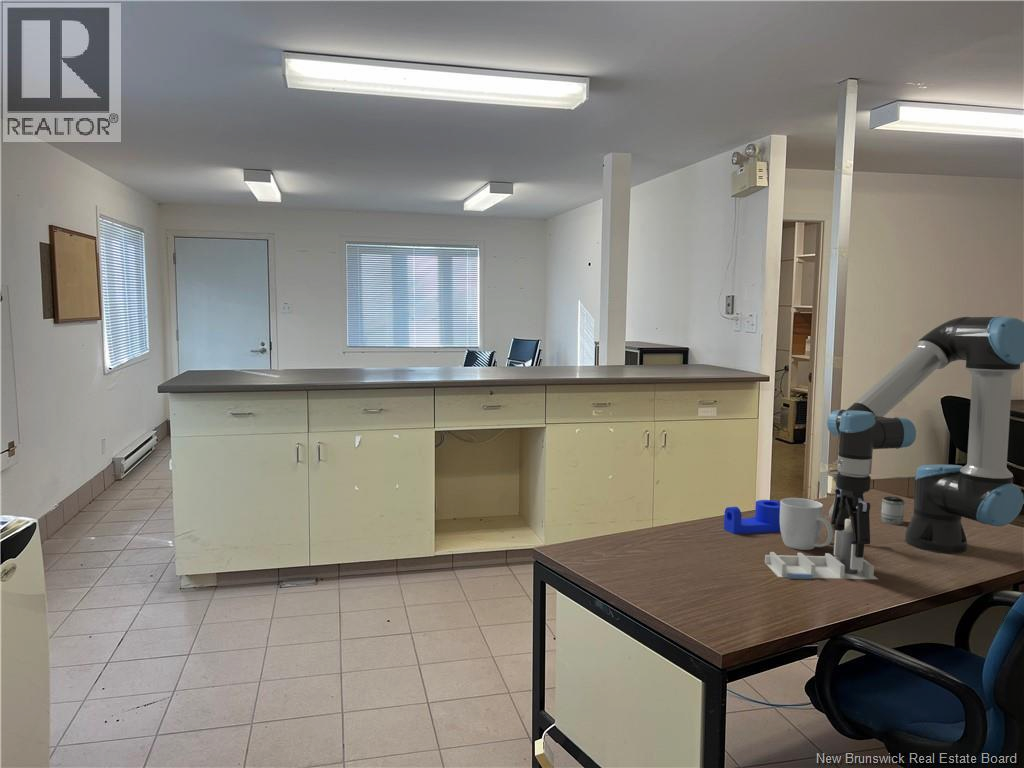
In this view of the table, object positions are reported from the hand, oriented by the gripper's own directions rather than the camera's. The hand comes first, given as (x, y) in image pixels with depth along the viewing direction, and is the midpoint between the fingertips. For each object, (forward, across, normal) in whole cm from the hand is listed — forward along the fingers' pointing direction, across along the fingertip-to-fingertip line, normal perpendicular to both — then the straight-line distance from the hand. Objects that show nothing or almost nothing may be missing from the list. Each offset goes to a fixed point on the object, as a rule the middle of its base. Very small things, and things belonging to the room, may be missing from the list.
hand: (847, 561), depth 173 cm
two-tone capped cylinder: (+2, +1, 0) cm, 2 cm away
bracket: (+4, -37, -11) cm, 39 cm away
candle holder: (+4, -26, +9) cm, 28 cm away
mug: (+4, -18, -4) cm, 19 cm away
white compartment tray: (+3, +1, -7) cm, 8 cm away
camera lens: (+4, -47, +35) cm, 59 cm away
